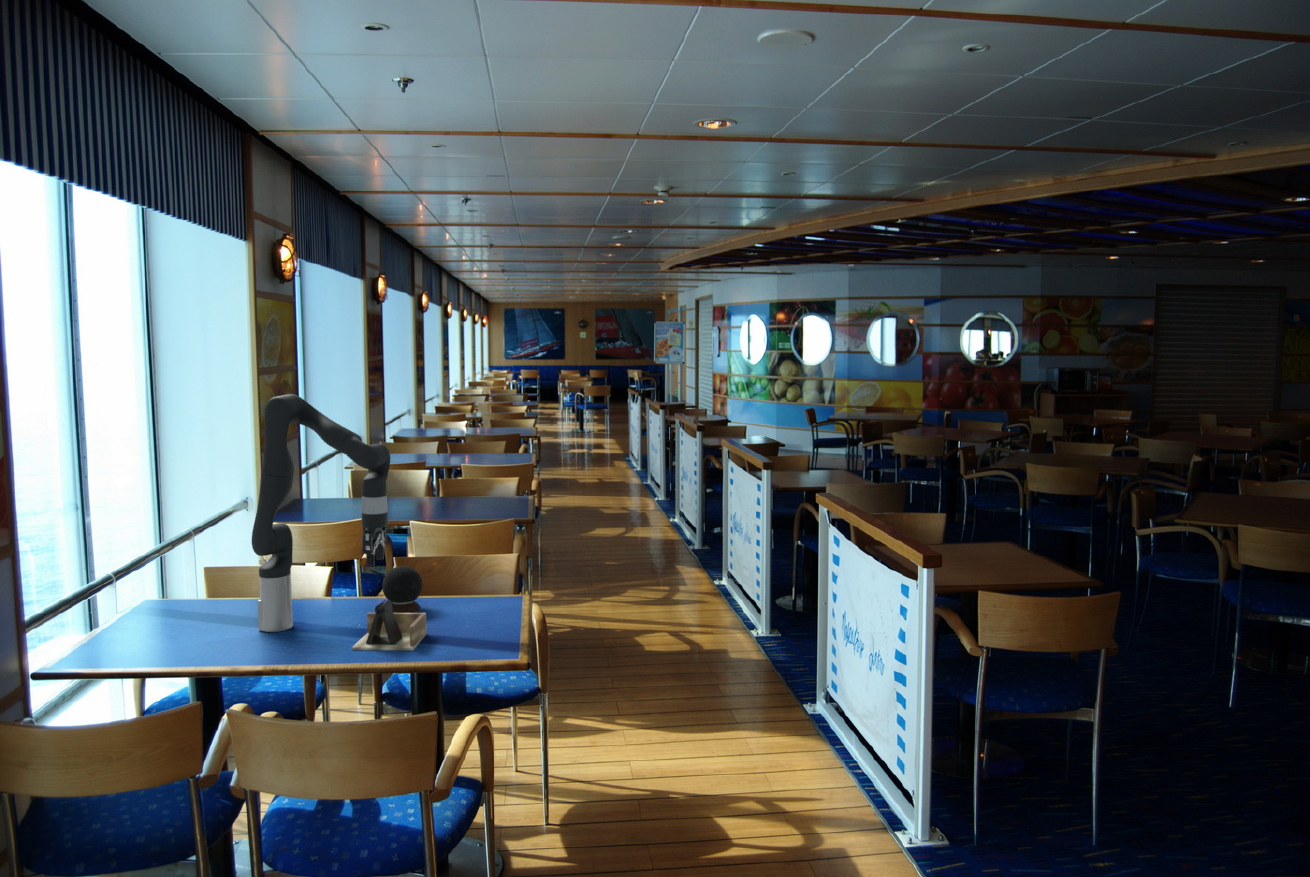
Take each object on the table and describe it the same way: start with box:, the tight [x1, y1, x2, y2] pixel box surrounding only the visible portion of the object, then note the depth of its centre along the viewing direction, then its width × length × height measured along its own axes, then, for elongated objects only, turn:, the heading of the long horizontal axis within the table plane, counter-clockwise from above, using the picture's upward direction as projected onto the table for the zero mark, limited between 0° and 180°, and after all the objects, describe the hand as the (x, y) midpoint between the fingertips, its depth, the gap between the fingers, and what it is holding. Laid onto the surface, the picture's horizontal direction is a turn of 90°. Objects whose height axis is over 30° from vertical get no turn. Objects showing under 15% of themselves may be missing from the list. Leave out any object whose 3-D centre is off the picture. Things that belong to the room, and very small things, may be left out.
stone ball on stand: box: [381, 565, 424, 613], centre depth 306 cm, size 13×13×15 cm
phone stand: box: [366, 599, 403, 645], centre depth 270 cm, size 9×6×12 cm, turn 85°
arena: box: [351, 612, 428, 651], centre depth 273 cm, size 18×15×7 cm
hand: (375, 563), depth 274 cm, fingers open, 8 cm apart
